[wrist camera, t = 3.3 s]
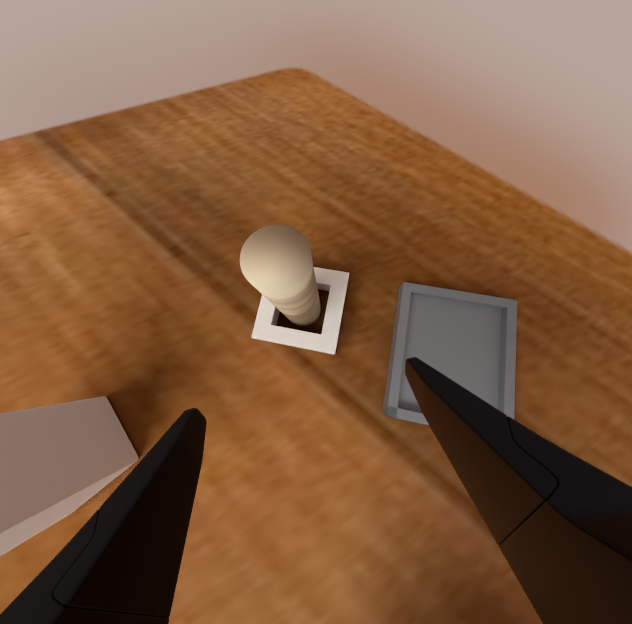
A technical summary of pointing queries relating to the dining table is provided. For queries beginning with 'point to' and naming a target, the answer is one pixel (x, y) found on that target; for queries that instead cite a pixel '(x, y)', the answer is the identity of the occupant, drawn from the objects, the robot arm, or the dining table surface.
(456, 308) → the tray
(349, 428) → the dining table surface
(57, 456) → the milk carton
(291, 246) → the dowel
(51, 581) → the robot arm
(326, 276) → the socket
